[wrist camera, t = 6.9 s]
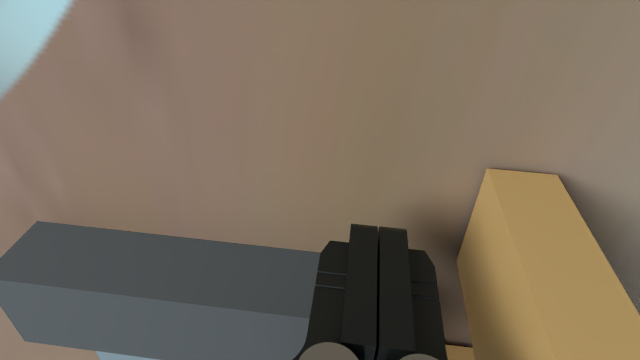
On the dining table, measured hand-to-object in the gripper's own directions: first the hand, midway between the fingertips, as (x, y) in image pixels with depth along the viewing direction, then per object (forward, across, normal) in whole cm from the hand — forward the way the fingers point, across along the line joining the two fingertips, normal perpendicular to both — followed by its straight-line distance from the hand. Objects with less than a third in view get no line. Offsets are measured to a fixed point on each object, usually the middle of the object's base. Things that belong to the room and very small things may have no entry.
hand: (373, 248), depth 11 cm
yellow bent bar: (+2, -4, +4) cm, 6 cm away
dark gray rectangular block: (+3, +6, +5) cm, 8 cm away
